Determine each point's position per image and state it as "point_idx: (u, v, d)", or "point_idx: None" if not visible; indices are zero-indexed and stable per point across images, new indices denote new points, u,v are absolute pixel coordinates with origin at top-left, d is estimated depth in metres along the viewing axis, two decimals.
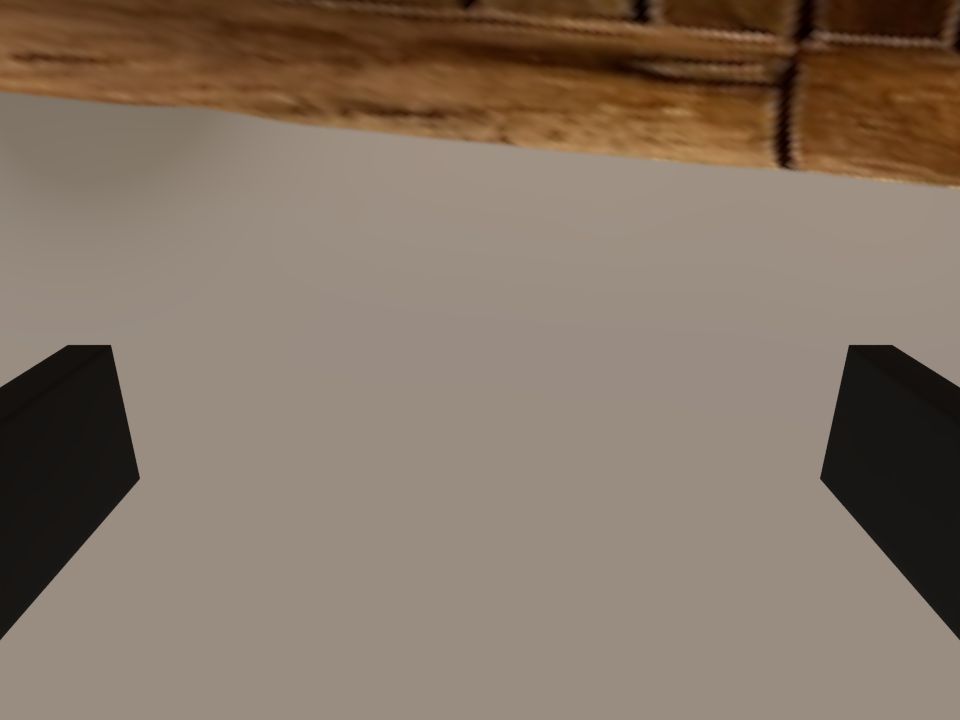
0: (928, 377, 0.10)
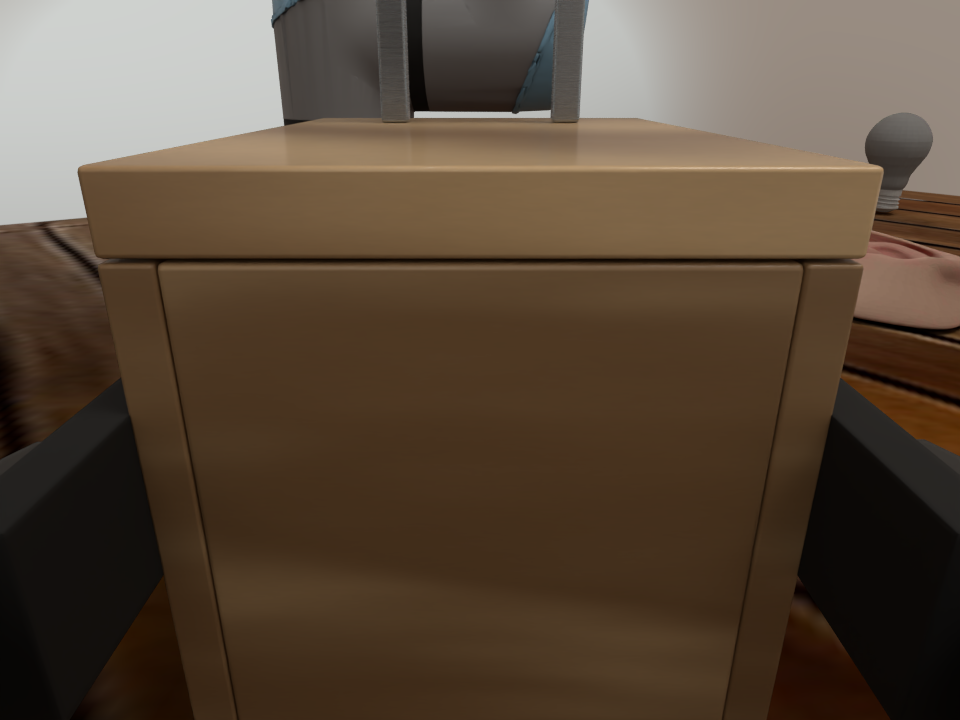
0: None
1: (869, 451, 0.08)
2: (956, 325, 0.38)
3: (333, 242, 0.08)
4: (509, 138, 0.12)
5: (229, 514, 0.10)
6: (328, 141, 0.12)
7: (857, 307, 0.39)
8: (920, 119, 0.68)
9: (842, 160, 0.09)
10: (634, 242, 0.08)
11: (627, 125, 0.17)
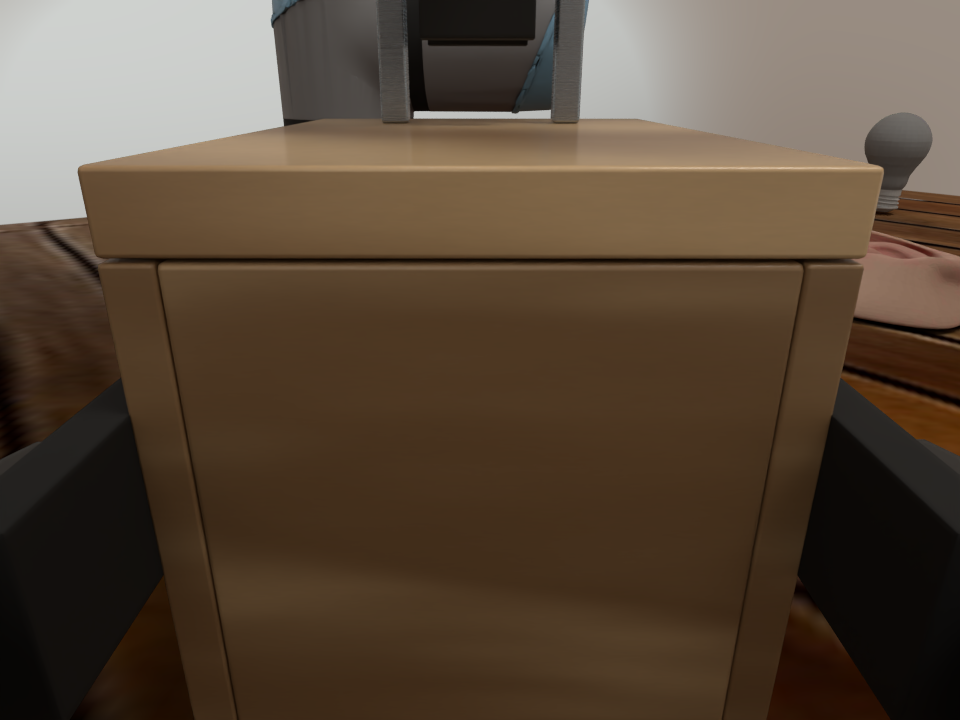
0: None
1: (869, 451, 0.08)
2: (955, 325, 0.38)
3: (333, 242, 0.08)
4: (509, 138, 0.12)
5: (229, 514, 0.10)
6: (328, 141, 0.12)
7: (856, 307, 0.39)
8: (920, 119, 0.68)
9: (842, 160, 0.09)
10: (634, 242, 0.08)
11: (627, 126, 0.17)
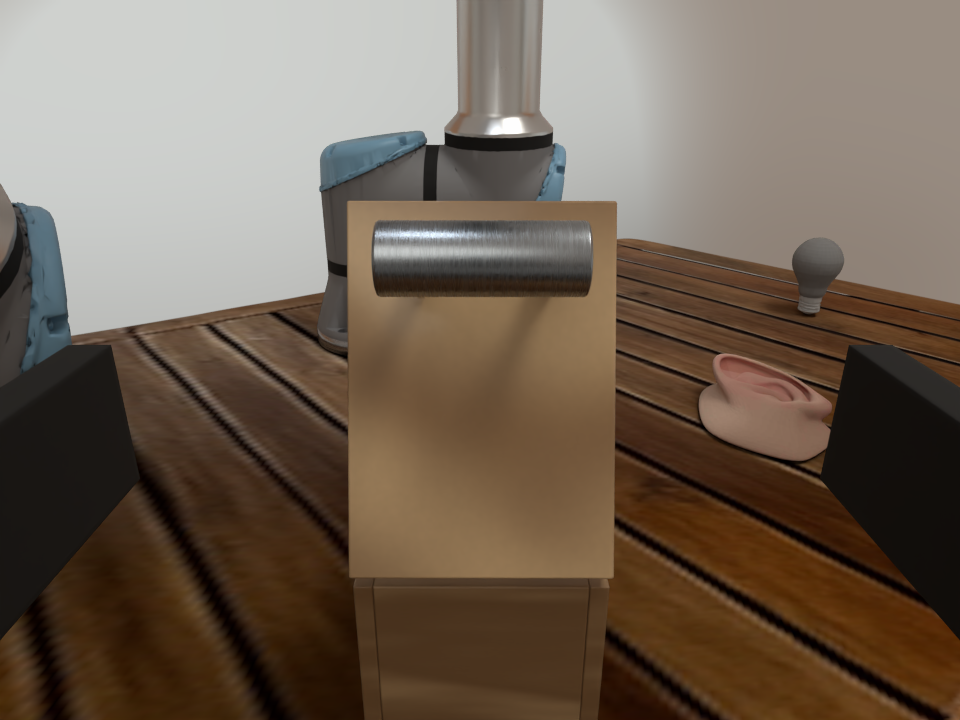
0: (928, 377, 0.10)
1: None
2: (809, 457, 0.55)
3: None
4: (496, 451, 0.25)
5: (389, 662, 0.27)
6: (409, 472, 0.25)
7: (744, 441, 0.56)
8: (833, 245, 0.85)
9: (608, 560, 0.25)
10: None
11: (582, 323, 0.24)
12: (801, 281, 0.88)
